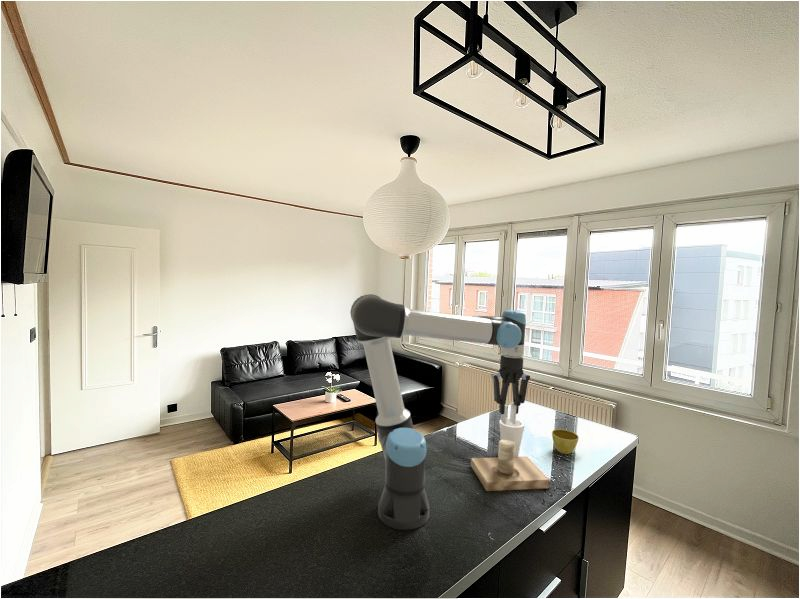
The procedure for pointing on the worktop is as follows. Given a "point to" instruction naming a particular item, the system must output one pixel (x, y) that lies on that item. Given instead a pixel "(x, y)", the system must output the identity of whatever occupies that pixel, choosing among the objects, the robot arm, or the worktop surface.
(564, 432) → the yellow bowl
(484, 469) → the board
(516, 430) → the foam cup
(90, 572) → the worktop surface
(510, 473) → the peg
